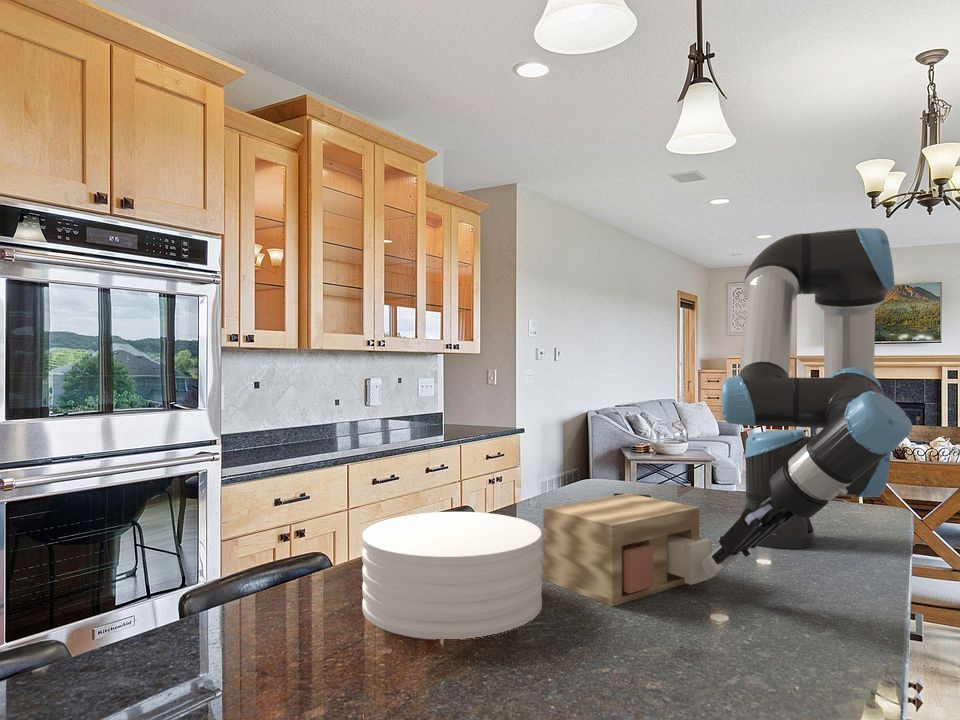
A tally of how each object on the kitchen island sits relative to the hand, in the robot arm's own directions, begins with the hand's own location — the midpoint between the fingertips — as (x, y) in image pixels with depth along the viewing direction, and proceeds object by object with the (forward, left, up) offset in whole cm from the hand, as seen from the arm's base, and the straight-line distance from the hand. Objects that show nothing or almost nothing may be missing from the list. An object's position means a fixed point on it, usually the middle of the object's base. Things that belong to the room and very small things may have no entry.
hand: (707, 569), depth 108 cm
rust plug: (+16, -6, -2) cm, 17 cm away
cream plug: (+5, -9, -2) cm, 10 cm away
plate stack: (+42, -1, -4) cm, 42 cm away
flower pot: (+1, -35, -4) cm, 35 cm away
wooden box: (+12, -9, -4) cm, 15 cm away
